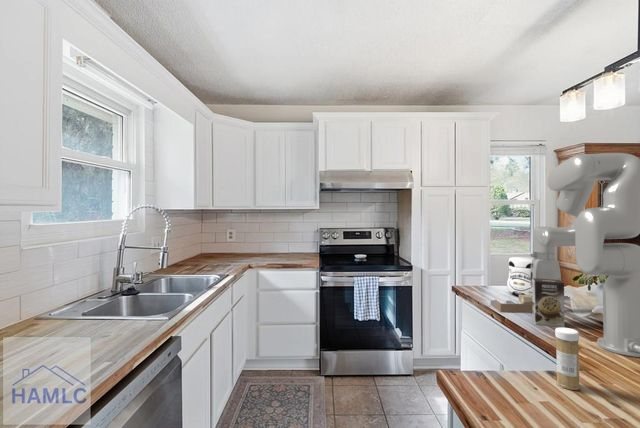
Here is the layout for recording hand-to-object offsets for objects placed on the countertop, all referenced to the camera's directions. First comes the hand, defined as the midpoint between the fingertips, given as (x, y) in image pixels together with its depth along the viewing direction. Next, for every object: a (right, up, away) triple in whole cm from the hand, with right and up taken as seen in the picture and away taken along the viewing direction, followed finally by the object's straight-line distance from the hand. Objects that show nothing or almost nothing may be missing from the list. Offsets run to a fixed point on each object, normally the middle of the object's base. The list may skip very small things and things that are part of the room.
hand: (544, 300), depth 138 cm
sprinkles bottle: (-34, -6, -59) cm, 69 cm away
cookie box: (-10, -5, -16) cm, 19 cm away
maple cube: (-7, -2, +1) cm, 8 cm away
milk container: (+8, -4, +24) cm, 26 cm away
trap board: (-11, -5, +3) cm, 12 cm away
